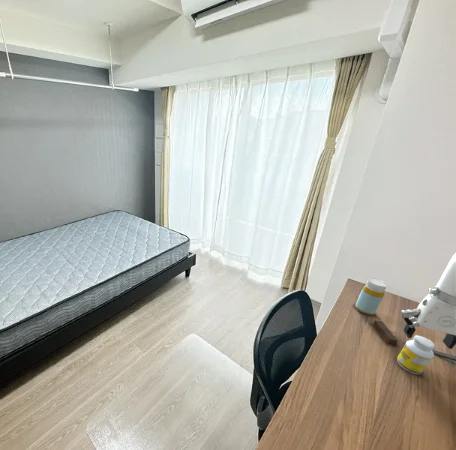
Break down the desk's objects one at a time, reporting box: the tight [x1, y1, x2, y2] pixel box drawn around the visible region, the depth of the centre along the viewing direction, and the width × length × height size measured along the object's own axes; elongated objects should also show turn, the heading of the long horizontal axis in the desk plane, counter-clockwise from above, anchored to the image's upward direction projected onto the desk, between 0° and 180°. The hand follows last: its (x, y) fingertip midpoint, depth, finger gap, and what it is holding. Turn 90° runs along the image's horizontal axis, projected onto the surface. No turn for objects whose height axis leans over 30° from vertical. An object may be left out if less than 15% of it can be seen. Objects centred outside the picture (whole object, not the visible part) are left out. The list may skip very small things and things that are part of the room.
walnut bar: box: [372, 319, 399, 346], centre depth 95 cm, size 10×2×2 cm, turn 166°
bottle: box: [354, 277, 388, 316], centre depth 105 cm, size 7×7×15 cm
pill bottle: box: [396, 335, 436, 375], centre depth 80 cm, size 6×6×12 cm
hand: (426, 339), depth 78 cm, fingers open, 9 cm apart
